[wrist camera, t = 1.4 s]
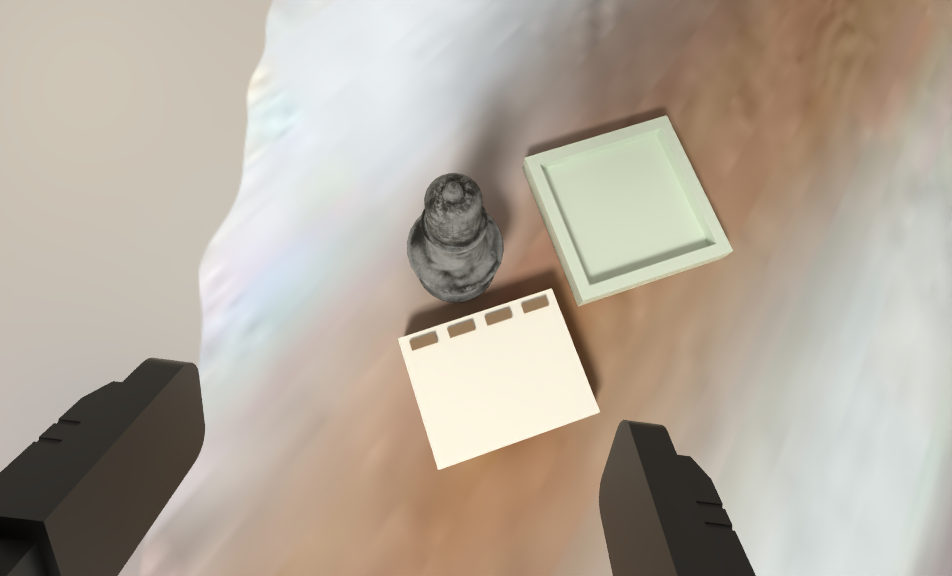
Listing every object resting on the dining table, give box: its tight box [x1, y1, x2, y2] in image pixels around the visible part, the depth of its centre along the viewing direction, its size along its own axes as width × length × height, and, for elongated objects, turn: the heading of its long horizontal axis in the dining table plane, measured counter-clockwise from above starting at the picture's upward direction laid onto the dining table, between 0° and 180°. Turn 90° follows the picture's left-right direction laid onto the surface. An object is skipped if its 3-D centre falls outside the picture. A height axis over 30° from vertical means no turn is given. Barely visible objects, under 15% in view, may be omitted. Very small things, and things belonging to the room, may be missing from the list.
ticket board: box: [398, 288, 600, 470], centre depth 33 cm, size 10×8×2 cm
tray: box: [523, 115, 733, 306], centre depth 37 cm, size 11×11×2 cm
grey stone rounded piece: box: [407, 173, 504, 303], centre depth 31 cm, size 6×6×12 cm
